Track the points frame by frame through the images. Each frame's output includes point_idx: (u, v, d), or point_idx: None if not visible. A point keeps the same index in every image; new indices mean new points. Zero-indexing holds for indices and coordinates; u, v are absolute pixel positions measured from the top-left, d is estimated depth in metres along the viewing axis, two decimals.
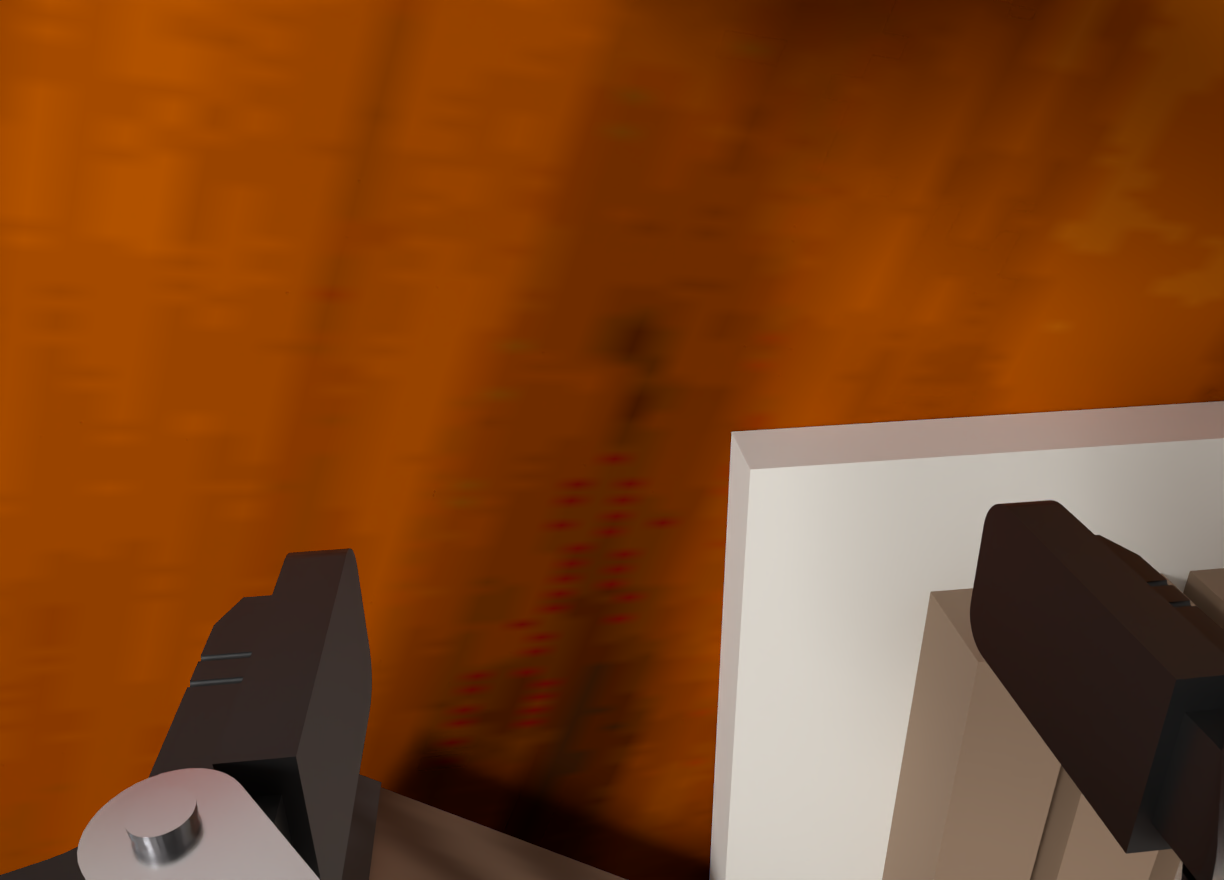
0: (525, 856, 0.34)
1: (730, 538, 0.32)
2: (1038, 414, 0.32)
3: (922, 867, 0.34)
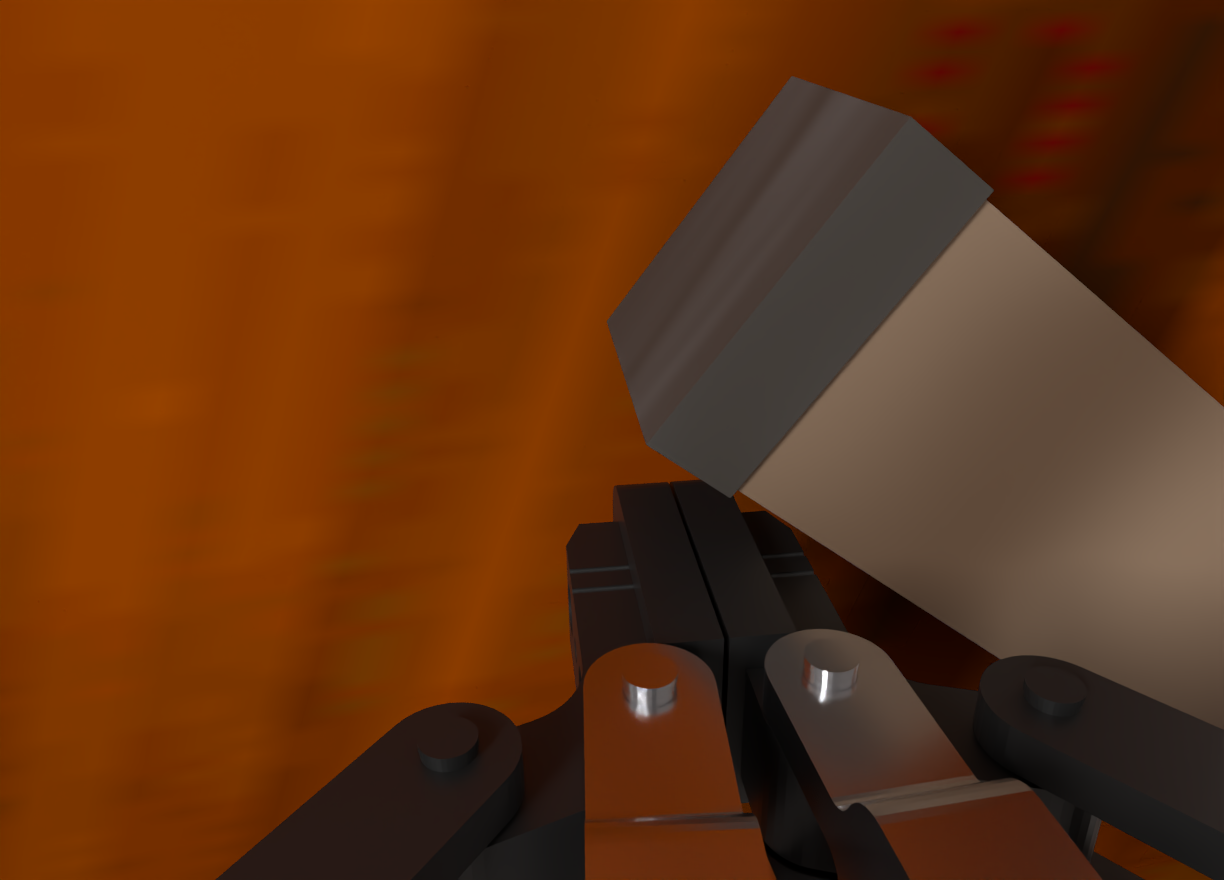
0: None
1: None
2: None
3: None
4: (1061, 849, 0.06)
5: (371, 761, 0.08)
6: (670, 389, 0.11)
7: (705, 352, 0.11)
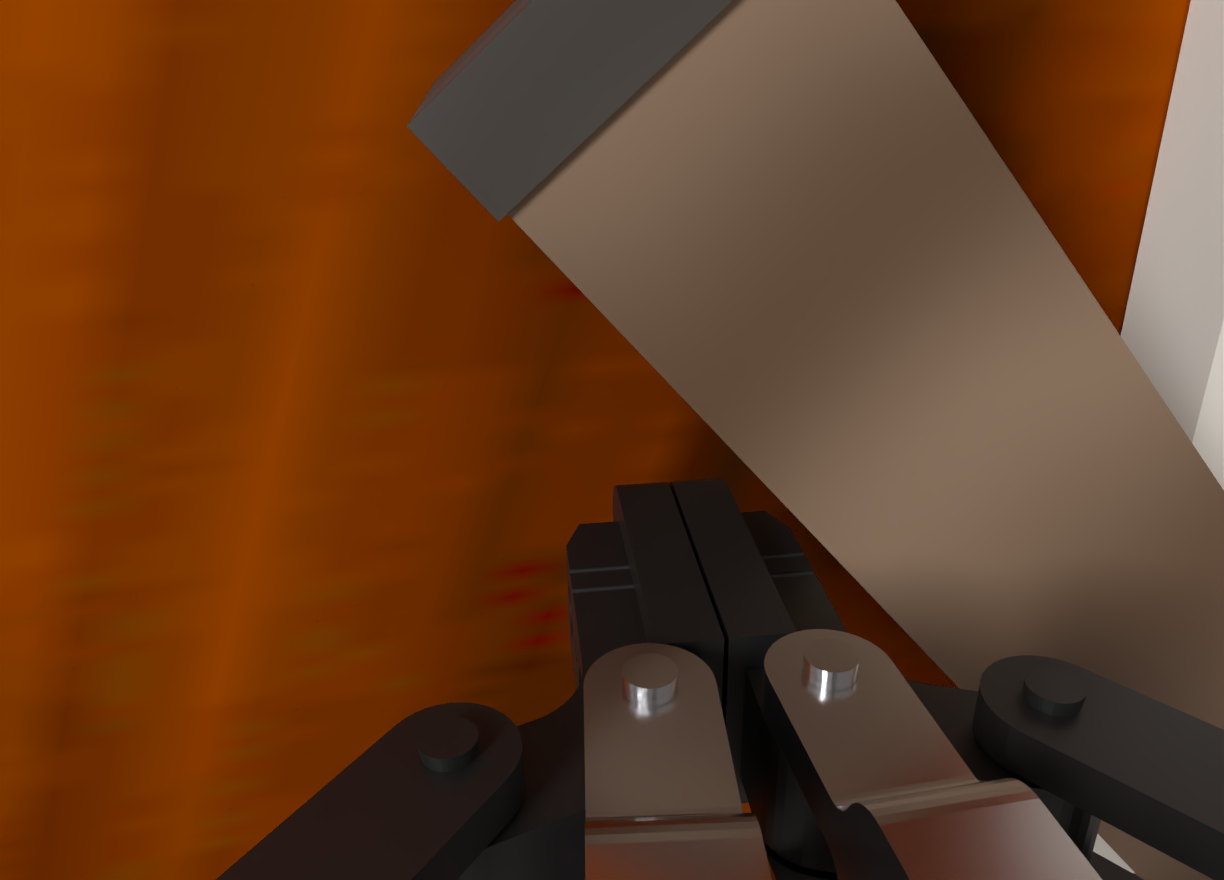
0: None
1: None
2: None
3: None
4: (1061, 849, 0.06)
5: (372, 762, 0.08)
6: (451, 79, 0.09)
7: (495, 34, 0.09)
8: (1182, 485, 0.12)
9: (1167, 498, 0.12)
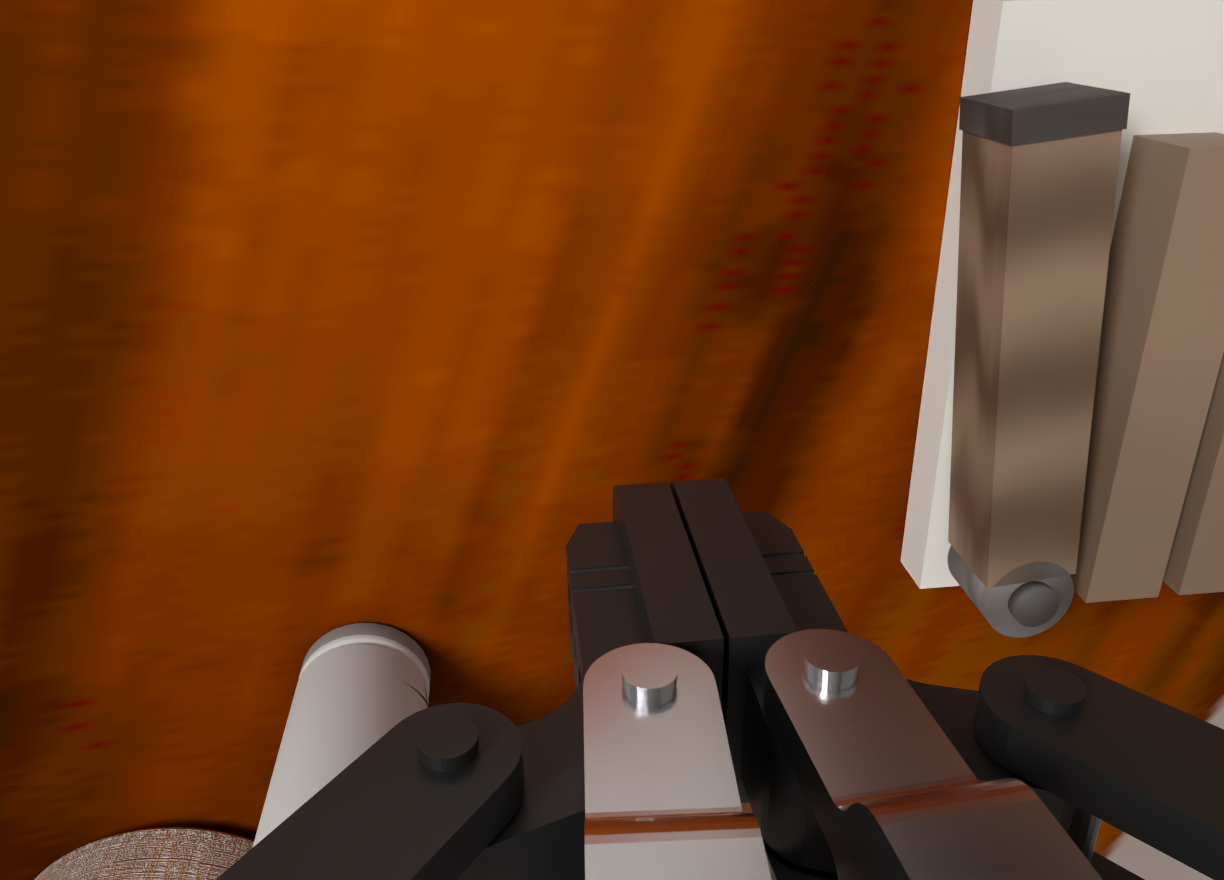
0: None
1: None
2: None
3: (1121, 387, 0.41)
4: (1060, 849, 0.06)
5: (371, 761, 0.08)
6: (1022, 106, 0.34)
7: (1040, 104, 0.34)
8: (1091, 339, 0.38)
9: (1086, 340, 0.38)
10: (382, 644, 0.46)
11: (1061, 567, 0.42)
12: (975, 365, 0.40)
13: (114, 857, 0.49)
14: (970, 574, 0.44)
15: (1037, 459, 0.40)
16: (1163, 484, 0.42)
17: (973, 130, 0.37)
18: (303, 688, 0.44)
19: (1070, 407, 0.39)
